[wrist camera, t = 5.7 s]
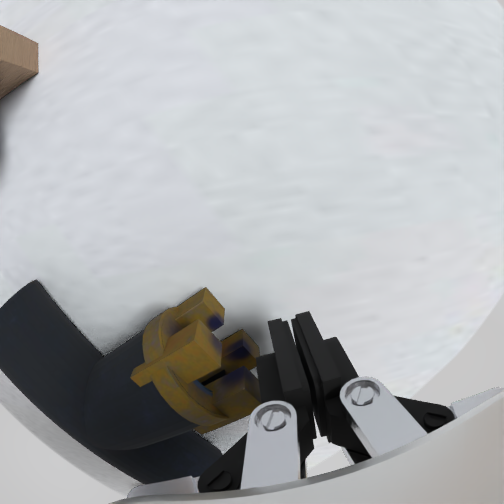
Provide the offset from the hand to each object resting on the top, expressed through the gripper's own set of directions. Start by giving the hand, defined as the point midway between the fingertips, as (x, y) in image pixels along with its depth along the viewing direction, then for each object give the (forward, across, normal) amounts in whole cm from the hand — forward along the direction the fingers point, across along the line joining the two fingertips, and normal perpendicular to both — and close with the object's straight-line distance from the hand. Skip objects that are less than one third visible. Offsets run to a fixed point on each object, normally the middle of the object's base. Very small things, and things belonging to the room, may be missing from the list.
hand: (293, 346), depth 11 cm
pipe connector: (+3, +8, +2) cm, 8 cm away
